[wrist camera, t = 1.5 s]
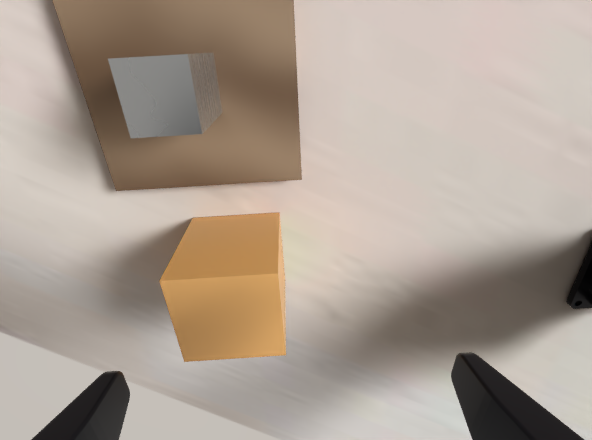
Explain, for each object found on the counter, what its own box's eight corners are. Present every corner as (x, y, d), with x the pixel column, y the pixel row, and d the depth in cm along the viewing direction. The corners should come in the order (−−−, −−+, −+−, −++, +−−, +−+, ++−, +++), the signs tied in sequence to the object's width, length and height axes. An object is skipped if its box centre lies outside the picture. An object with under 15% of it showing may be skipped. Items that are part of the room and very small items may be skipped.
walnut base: (300, 173, 18) (301, 179, 18) (124, 184, 18) (116, 191, 18) (290, -51, 14) (290, -58, 13) (53, -38, 14) (37, -44, 13)
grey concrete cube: (222, 112, 16) (202, 134, 12) (168, 115, 16) (130, 138, 12) (213, 52, 15) (187, 53, 11) (155, 55, 15) (107, 58, 11)
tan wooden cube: (285, 281, 22) (285, 355, 17) (208, 286, 22) (184, 361, 17) (279, 212, 20) (277, 273, 14) (192, 217, 20) (159, 281, 14)
